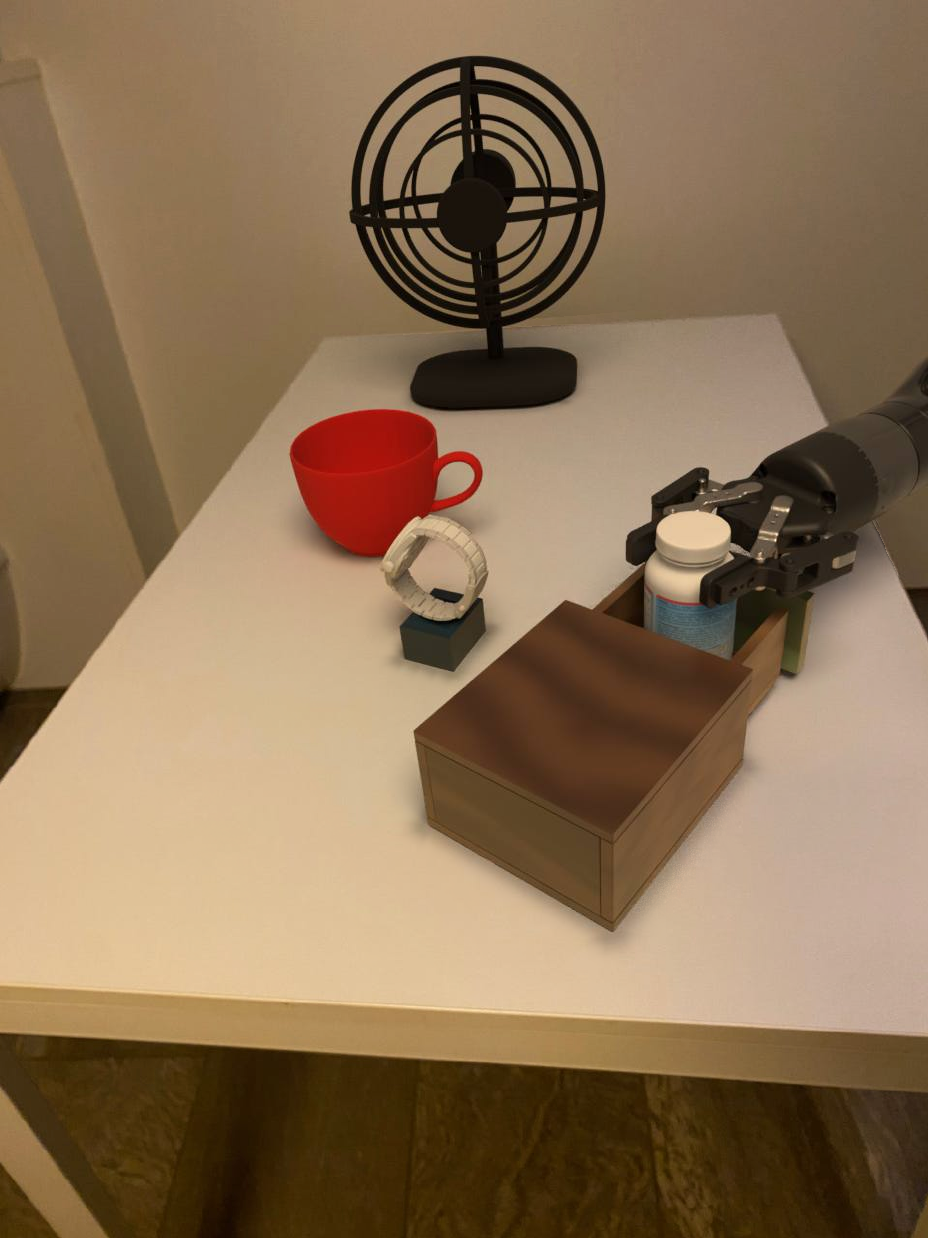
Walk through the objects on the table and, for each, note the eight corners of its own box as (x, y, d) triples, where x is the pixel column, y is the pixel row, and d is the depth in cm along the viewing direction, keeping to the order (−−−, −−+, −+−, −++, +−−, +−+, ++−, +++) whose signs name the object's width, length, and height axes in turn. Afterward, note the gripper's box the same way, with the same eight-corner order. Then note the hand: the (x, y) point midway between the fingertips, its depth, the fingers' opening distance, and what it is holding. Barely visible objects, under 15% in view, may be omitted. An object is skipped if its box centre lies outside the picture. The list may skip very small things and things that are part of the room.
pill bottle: (750, 667, 67) (764, 529, 60) (686, 705, 64) (693, 566, 58) (687, 627, 71) (694, 494, 64) (624, 662, 69) (625, 527, 62)
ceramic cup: (473, 582, 82) (462, 477, 76) (289, 572, 86) (265, 472, 80) (501, 506, 92) (494, 409, 86) (335, 501, 96) (318, 407, 90)
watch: (417, 614, 79) (400, 496, 73) (505, 635, 76) (495, 513, 69) (382, 653, 75) (360, 533, 69) (473, 677, 72) (460, 553, 65)
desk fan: (369, 422, 111) (314, 77, 90) (394, 363, 125) (351, 53, 104) (606, 413, 107) (605, 51, 86) (605, 354, 121) (604, 30, 100)
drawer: (680, 582, 78) (684, 514, 74) (830, 631, 71) (842, 560, 67) (542, 714, 67) (538, 642, 63) (705, 789, 60) (711, 713, 56)
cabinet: (568, 690, 70) (565, 599, 65) (742, 765, 62) (753, 668, 57) (428, 825, 61) (412, 730, 56) (612, 932, 53) (613, 833, 48)
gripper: (916, 565, 66) (748, 671, 59) (751, 492, 76) (590, 575, 68) (938, 467, 61) (758, 569, 54) (759, 403, 71) (588, 482, 64)
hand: (665, 572), depth 61 cm, fingers closed on pill bottle, 6 cm apart
